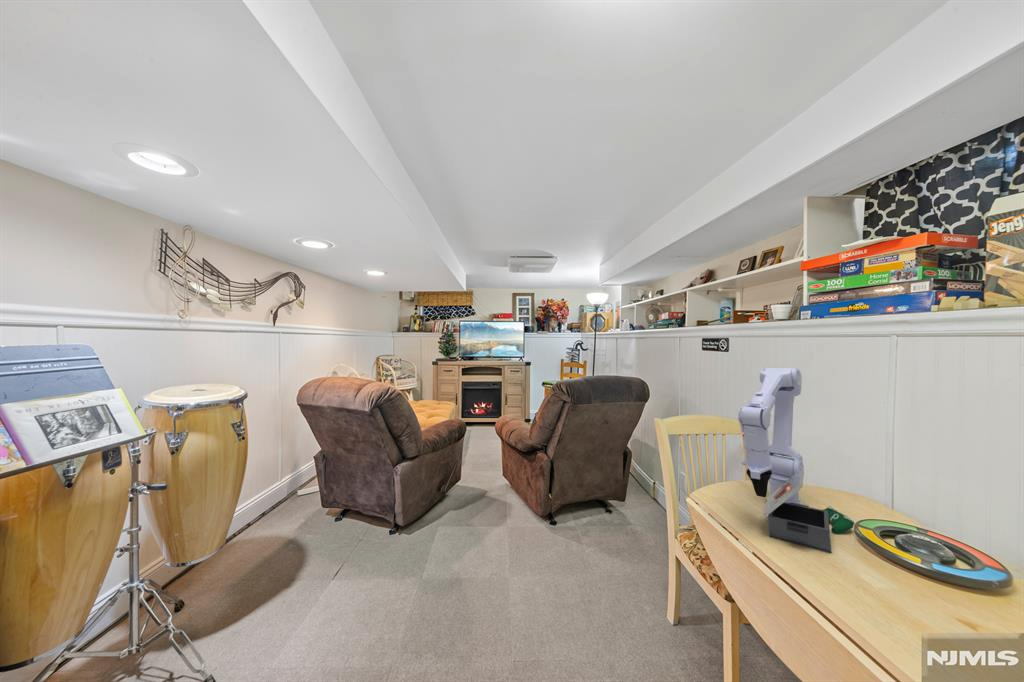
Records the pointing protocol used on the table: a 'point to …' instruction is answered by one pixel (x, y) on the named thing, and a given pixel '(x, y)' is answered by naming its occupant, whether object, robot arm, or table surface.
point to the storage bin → (801, 526)
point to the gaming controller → (839, 521)
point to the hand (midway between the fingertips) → (761, 495)
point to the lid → (784, 492)
